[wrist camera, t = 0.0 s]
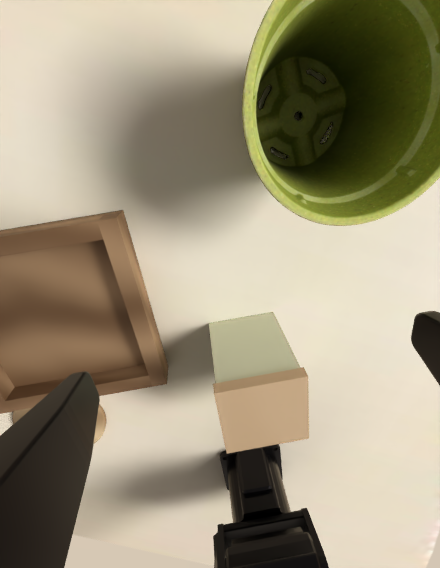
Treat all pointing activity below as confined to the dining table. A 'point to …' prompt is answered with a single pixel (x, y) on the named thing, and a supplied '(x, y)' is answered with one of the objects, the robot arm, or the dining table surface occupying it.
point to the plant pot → (345, 106)
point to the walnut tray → (74, 310)
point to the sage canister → (257, 384)
